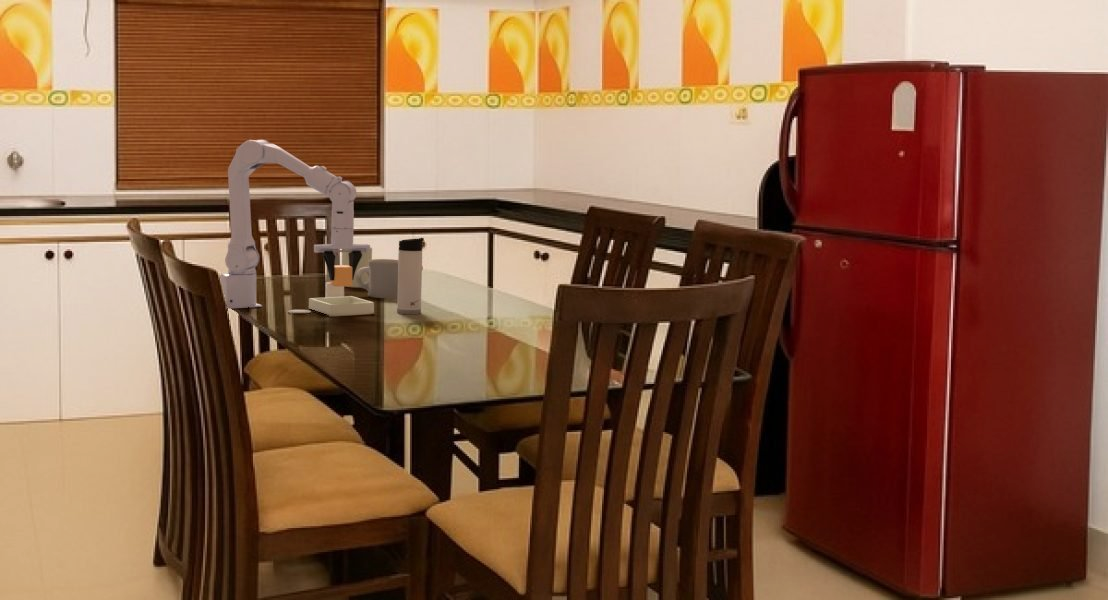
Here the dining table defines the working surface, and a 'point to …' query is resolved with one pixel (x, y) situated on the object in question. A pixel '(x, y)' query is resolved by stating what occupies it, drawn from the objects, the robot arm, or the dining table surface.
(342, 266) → the block
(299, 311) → the grey flat disc
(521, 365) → the dining table surface
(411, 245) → the travel mug
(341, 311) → the tray
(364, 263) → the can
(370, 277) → the coffee mug
